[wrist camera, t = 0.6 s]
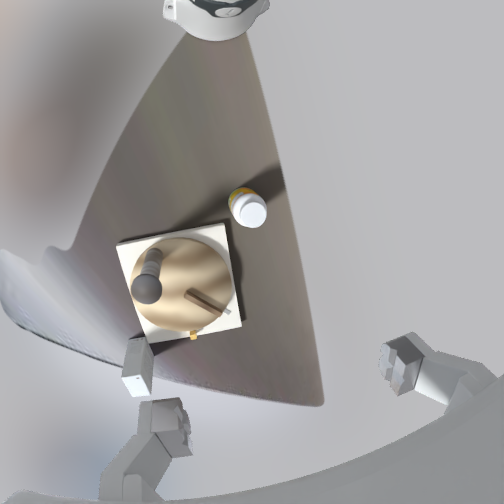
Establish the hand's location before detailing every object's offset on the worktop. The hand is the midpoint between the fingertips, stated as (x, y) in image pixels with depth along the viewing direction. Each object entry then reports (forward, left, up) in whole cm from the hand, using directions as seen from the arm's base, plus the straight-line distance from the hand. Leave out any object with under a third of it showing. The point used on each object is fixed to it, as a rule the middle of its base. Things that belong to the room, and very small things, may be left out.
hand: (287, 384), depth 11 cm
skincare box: (+31, -21, -46) cm, 59 cm away
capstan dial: (+17, -8, -44) cm, 48 cm away
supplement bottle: (+4, +6, -46) cm, 47 cm away
